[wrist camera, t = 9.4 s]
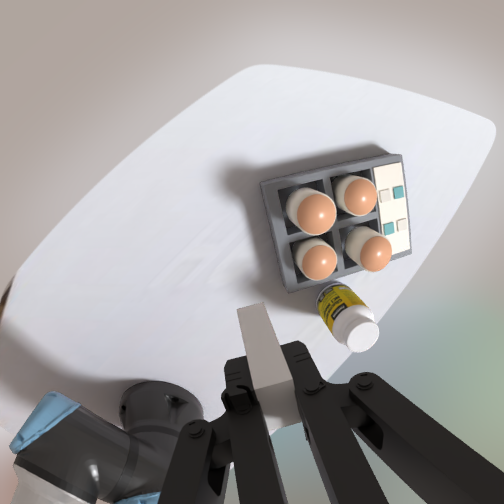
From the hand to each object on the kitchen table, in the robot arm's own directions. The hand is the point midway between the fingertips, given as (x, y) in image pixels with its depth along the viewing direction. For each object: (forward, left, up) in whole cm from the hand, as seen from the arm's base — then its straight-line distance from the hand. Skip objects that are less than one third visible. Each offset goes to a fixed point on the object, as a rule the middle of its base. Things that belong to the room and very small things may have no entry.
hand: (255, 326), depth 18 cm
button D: (+17, 0, -26) cm, 31 cm away
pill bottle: (+13, -16, -27) cm, 34 cm away
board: (+16, -4, -26) cm, 31 cm away
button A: (+10, -7, -26) cm, 29 cm away
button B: (+10, 0, -24) cm, 26 cm away
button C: (+17, -7, -24) cm, 30 cm away
